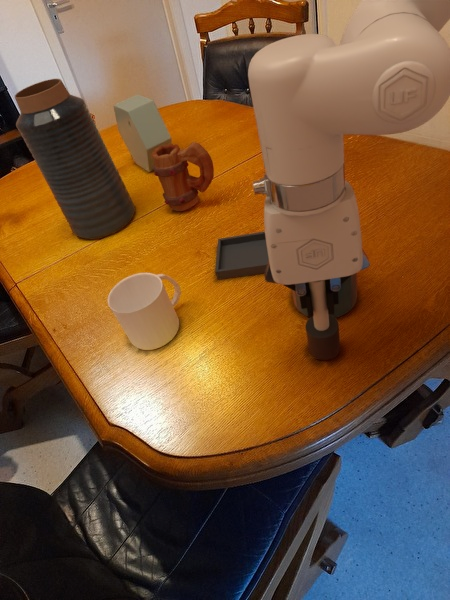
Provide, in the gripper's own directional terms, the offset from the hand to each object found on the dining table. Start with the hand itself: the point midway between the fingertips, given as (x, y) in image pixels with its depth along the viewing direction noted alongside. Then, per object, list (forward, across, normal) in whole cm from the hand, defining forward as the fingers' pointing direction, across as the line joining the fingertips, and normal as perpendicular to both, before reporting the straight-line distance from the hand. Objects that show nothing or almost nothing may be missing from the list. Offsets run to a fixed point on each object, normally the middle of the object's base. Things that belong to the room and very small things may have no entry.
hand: (319, 307), depth 53 cm
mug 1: (+9, -27, +9) cm, 30 cm away
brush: (+9, 0, 0) cm, 9 cm away
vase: (+9, -48, +47) cm, 68 cm away
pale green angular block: (+9, -40, +75) cm, 85 cm away
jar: (+9, +1, +11) cm, 14 cm away
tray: (+9, -11, +24) cm, 28 cm away
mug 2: (+9, -25, +47) cm, 54 cm away
